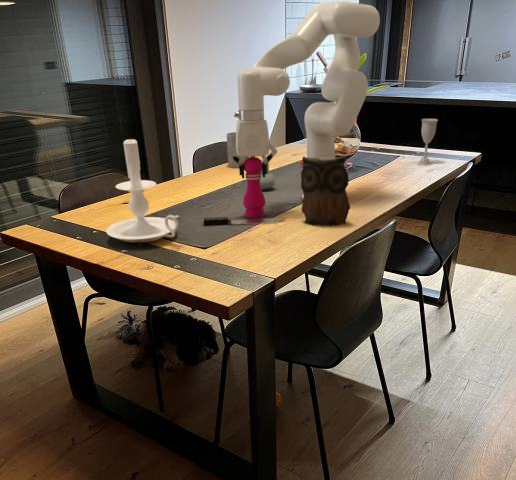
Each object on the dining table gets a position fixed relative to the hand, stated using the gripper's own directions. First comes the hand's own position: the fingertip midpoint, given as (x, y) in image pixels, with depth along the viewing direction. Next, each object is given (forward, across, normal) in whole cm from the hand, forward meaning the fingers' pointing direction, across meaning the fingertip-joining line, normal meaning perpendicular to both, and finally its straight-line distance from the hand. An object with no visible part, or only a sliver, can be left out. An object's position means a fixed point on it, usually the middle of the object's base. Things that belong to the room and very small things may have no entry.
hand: (253, 176), depth 170 cm
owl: (+13, +22, -9) cm, 27 cm away
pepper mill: (+13, 0, 0) cm, 13 cm away
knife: (+13, -4, -7) cm, 15 cm away
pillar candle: (+13, -2, +78) cm, 79 cm away
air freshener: (+13, +5, +35) cm, 37 cm away
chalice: (+13, +79, +64) cm, 103 cm away
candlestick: (+13, -33, -18) cm, 40 cm away
